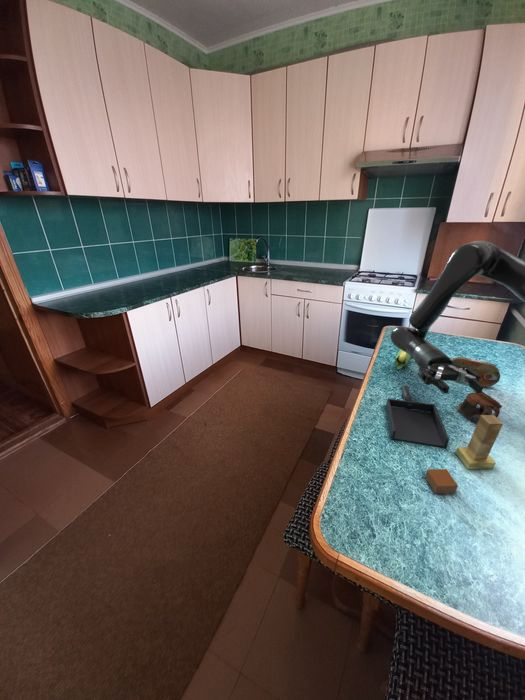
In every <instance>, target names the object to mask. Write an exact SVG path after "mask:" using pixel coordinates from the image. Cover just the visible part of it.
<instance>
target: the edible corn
mask: <svg viewBox="0 0 525 700" xmlns="http://www.w3.org/2000/svg"><path fill="white" fill-rule="evenodd" d="M411 358H412V357H411V356H410V355H409V354H408V353H406V352H404V351H403V350H401V349H399V350H398V352H397V355H396V357H395V359H394V361H395V362H394V366H396V369H397V370H400V369H402V368H403V367H406V366H407V365H408V363H409V361H410V360H411Z"/></svg>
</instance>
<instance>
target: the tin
mask: <svg viewBox="0 0 525 700" xmlns="http://www.w3.org/2000/svg"><path fill="white" fill-rule="evenodd" d="M451 361H452V363H453V365H454V366H456V367H458V368H463V366H468V367H469V368H471V369H472V370H474V371H475V372H476V373H478V374H479V375H480V376H481V378H480V380H479V383H481V384H482V385H483V386H484V387H483V388H489V387H493V386H495V385H496V384H498V382H499V381H500V379H501V373H500V369H499V368H498V367H497V366H496V365H495V364H493V363H491V362H488V361H485V360H484V361H483V360H478V359H474V358H468V357H463V356H458V357H453V358H452V359H451ZM460 378H461V374H460V373H459V375H458V379H460ZM465 380H467V381H469V379H467V378H466V377H465Z"/></svg>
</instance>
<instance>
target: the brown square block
mask: <svg viewBox="0 0 525 700" xmlns="http://www.w3.org/2000/svg"><path fill="white" fill-rule="evenodd" d="M424 477H425V479H426V482H428V484H429V486H430V487H431V489H432V491H433V492H434V494H456V493H457V490H458V487H459V485H458V483H457V482H456V480H455V479H454V477H453V476H452V475H451V473H450V472H449V471H448V469H447V468H439V469H438V468H435V469H434V468H432V469H431V468H430V469H427V470H426V472H425V476H424Z"/></svg>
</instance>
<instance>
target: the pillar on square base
mask: <svg viewBox="0 0 525 700" xmlns="http://www.w3.org/2000/svg"><path fill="white" fill-rule="evenodd" d="M503 425H504V423H503V422H502V421H501V420H500V419H499V418H498V417H497V418H496V417H495V416H494V414H492V415H481V416H480V418H479V420H478V421H477V423H476V425H475V428H474V430H473V432H472V435H471V437H470V439H469V443H468V445H467V446H457V447H456V449H455V452H454V453H455V455H456V456H457V457H458V459H459V460H460V462H462V464H463V465H464V466H465V467H466V469H467V470H493V469H494V468H495V465H496V463H497V462H496V461H495V460H494V459H493V458H492V457H491V456H490V453H491V451H492V449H493V446H494V444H495V443H496V440H497V438H498V436H499V434H500V431H501V429H502V427H503Z"/></svg>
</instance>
